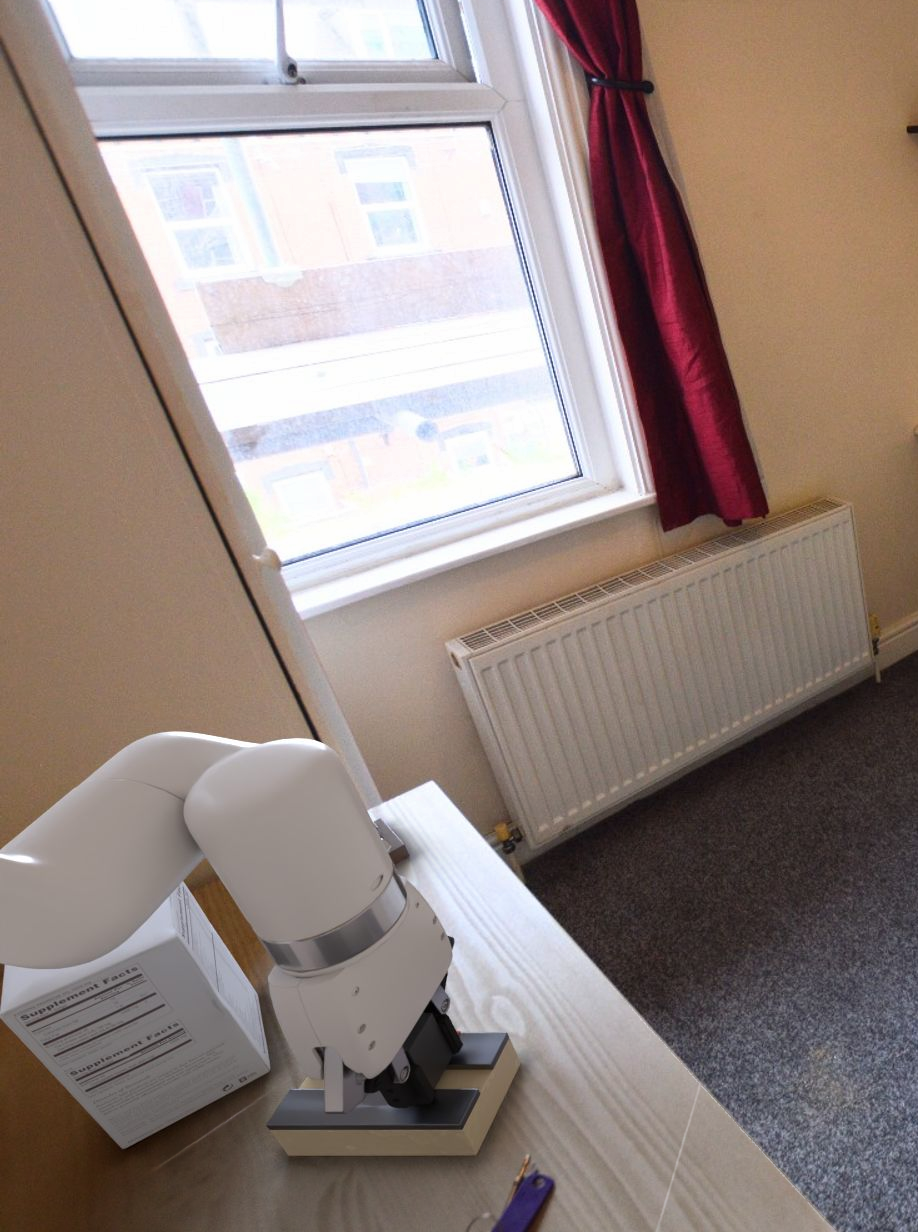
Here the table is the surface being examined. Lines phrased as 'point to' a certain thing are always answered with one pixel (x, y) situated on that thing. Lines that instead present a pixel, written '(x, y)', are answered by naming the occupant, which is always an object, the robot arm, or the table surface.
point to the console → (406, 1110)
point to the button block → (392, 841)
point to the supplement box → (144, 1023)
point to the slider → (428, 1048)
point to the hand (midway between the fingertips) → (427, 1073)
